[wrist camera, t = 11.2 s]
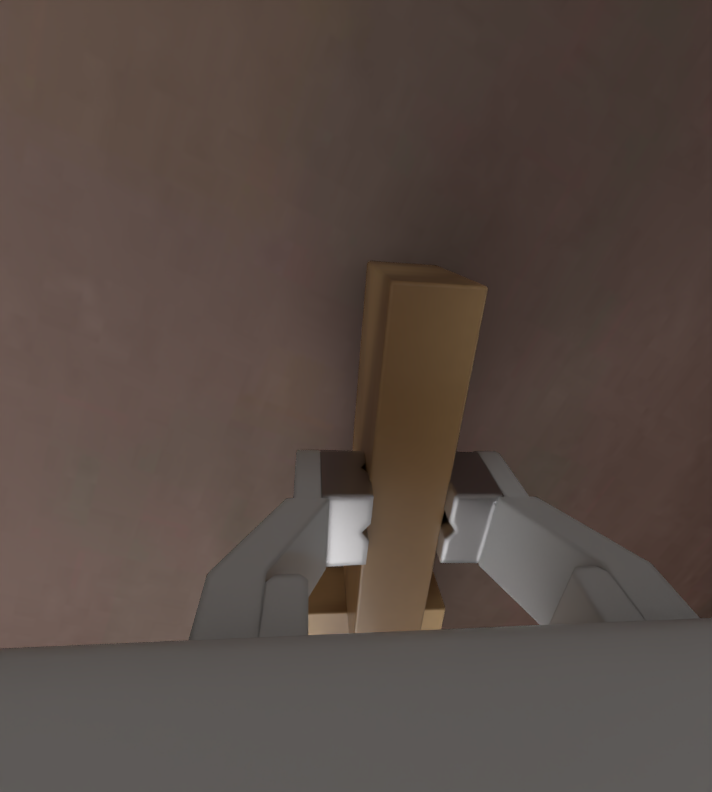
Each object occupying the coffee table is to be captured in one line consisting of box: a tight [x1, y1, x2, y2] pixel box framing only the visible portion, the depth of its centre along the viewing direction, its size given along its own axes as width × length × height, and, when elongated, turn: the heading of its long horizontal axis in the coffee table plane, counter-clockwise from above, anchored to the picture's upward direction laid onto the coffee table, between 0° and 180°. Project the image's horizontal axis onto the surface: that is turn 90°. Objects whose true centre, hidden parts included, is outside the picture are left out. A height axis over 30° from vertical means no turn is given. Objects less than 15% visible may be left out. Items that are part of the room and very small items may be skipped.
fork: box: [308, 261, 488, 635], centre depth 11 cm, size 4×18×3 cm, turn 175°
